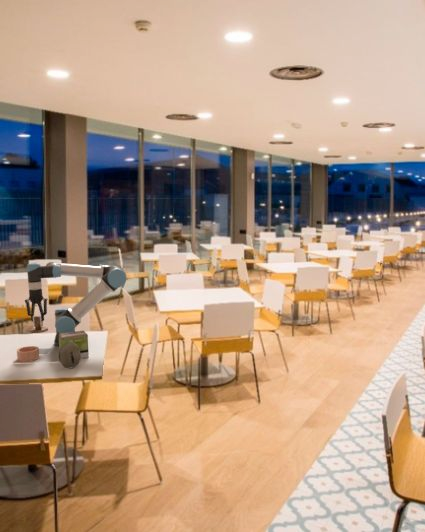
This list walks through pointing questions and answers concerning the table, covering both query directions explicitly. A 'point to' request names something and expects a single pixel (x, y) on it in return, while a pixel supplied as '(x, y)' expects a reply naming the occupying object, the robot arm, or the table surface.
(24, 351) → the bowl
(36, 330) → the lid
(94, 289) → the robot arm
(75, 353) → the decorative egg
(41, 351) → the mat
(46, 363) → the table surface
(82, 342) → the tea box
